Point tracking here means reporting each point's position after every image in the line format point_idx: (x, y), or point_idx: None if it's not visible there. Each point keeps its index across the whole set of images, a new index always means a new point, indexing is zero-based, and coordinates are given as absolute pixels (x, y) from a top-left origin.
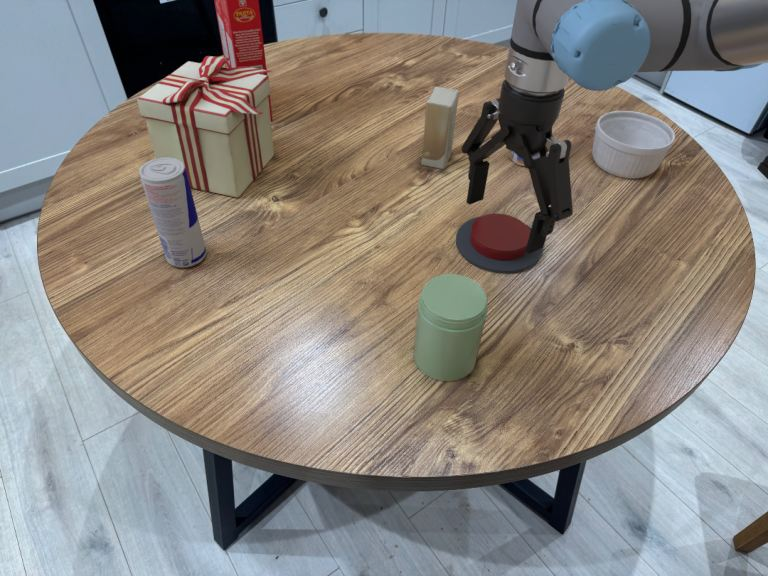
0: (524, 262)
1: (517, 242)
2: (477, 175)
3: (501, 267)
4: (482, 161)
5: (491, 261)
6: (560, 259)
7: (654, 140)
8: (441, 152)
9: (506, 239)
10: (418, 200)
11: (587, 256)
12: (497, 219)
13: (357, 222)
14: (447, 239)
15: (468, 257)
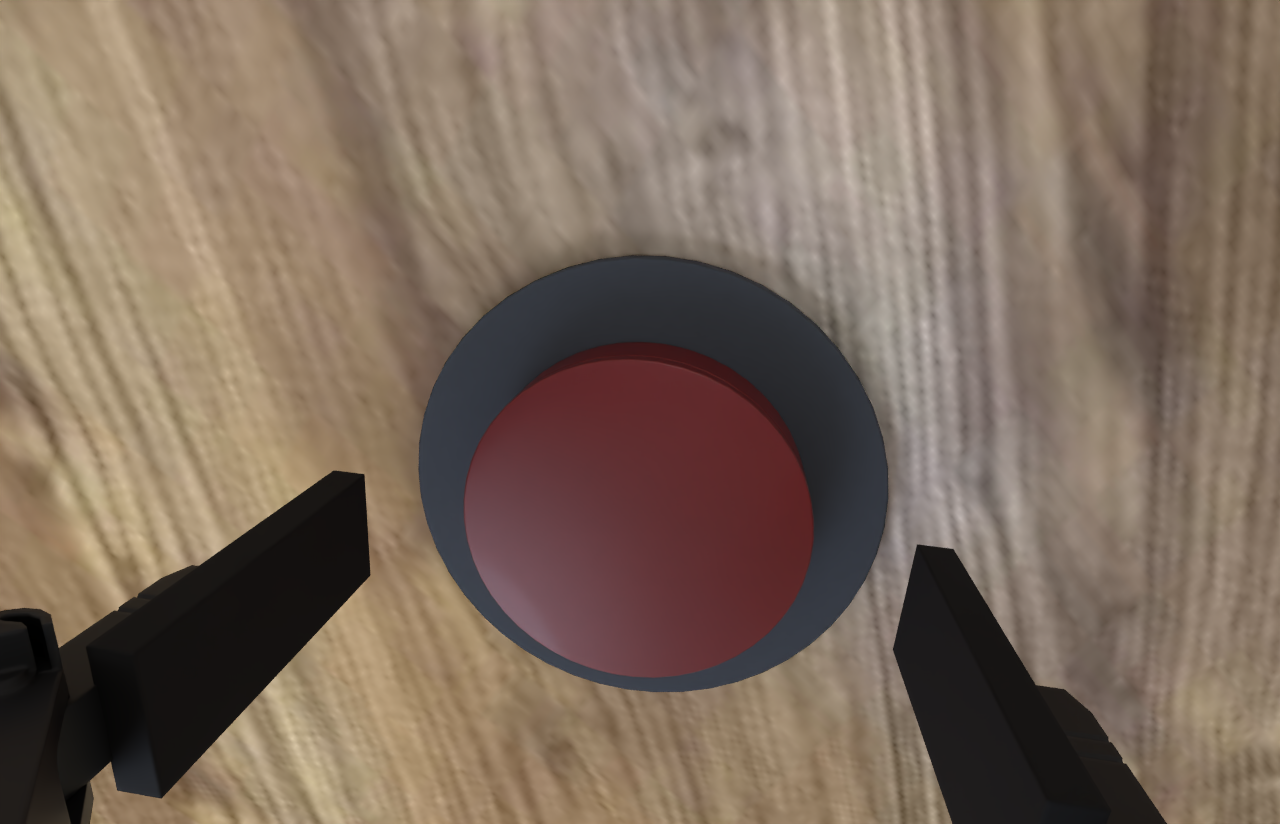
0: (848, 522)
1: (762, 534)
2: (222, 695)
3: (794, 630)
4: (91, 695)
5: None
6: (957, 313)
7: None
8: None
9: (703, 561)
10: (166, 542)
11: (1070, 144)
12: (535, 465)
13: (210, 813)
14: (478, 638)
15: (643, 688)
